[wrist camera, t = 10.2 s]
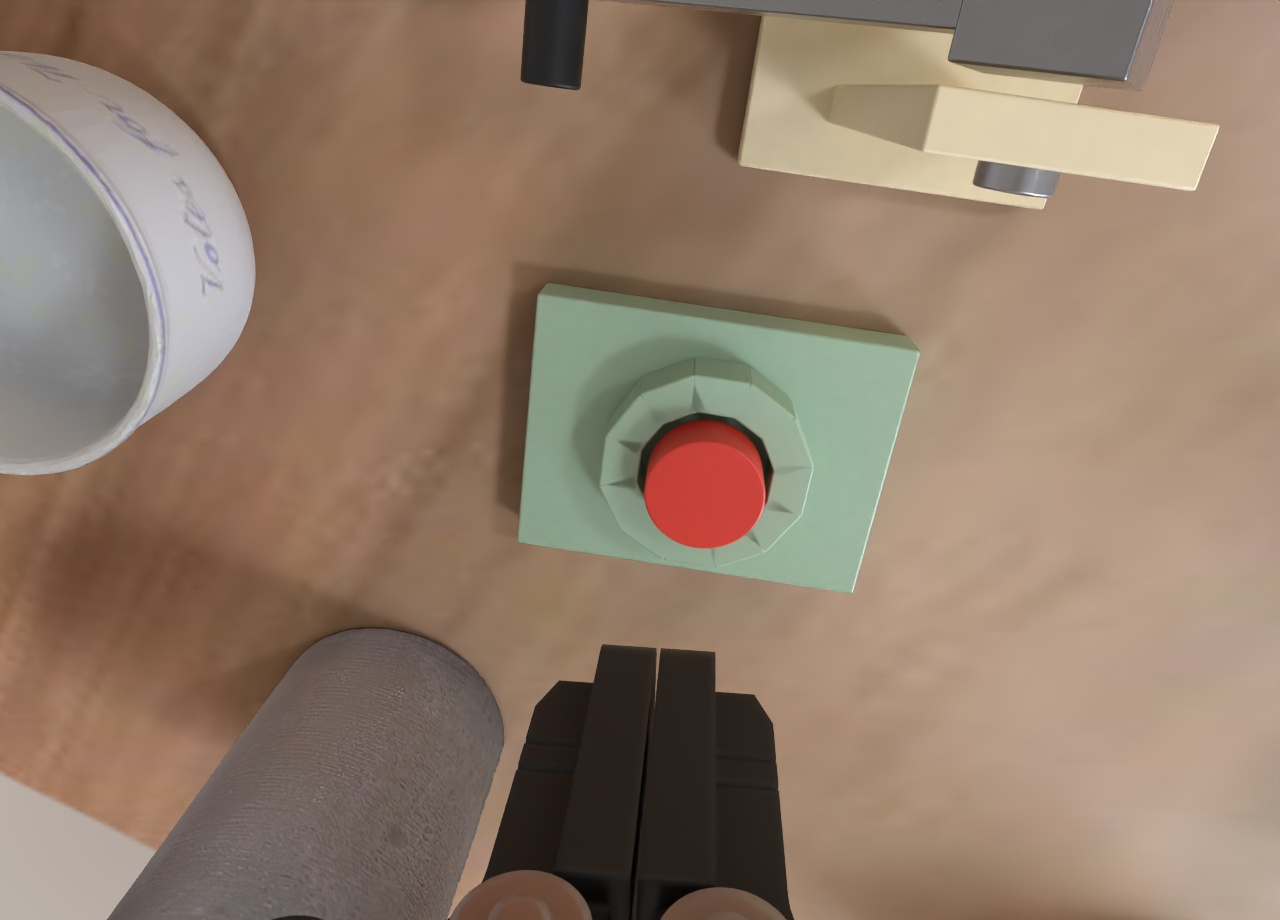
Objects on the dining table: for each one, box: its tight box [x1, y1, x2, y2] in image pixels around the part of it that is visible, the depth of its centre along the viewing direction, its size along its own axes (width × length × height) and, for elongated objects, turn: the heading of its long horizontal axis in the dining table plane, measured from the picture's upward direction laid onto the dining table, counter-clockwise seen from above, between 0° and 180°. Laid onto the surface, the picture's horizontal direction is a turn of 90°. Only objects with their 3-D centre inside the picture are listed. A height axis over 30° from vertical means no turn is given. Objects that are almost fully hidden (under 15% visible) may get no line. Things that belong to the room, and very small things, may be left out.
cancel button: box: [644, 420, 766, 549], centre depth 26 cm, size 4×4×2 cm
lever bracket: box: [737, 16, 1219, 210], centre depth 18 cm, size 9×8×13 cm
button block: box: [517, 283, 920, 593], centre depth 28 cm, size 12×9×4 cm
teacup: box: [0, 51, 256, 475], centre depth 24 cm, size 14×11×8 cm
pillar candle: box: [107, 628, 504, 920], centre depth 29 cm, size 10×10×15 cm
